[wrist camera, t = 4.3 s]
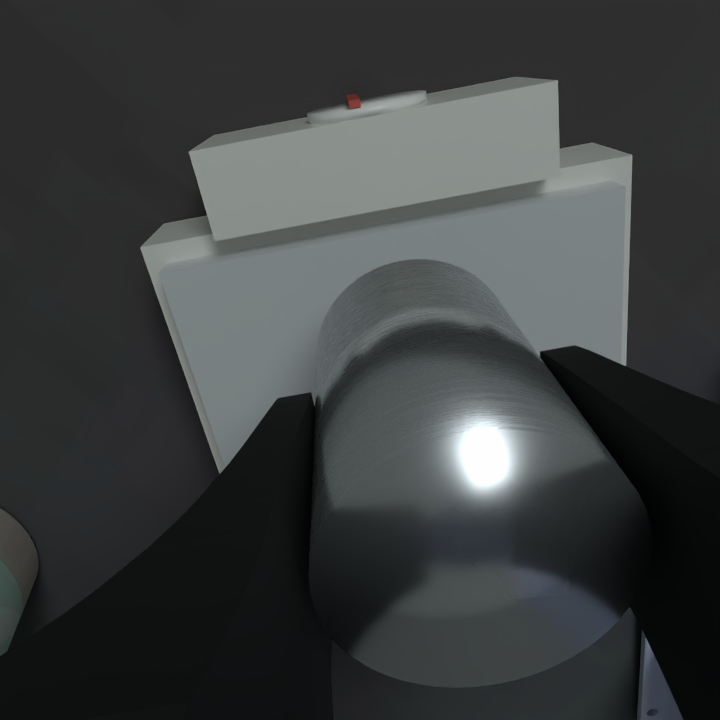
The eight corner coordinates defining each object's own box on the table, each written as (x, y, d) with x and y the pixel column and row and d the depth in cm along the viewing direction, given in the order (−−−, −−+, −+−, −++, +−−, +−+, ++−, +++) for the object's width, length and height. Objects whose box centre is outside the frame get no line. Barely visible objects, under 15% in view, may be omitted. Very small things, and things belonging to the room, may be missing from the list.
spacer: (507, 425, 13) (629, 670, 8) (327, 442, 13) (328, 702, 8) (513, 249, 12) (676, 412, 6) (306, 269, 11) (286, 450, 6)
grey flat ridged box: (591, 486, 22) (632, 551, 19) (267, 541, 22) (258, 613, 19) (592, 45, 15) (653, 42, 12) (134, 134, 16) (92, 151, 13)
